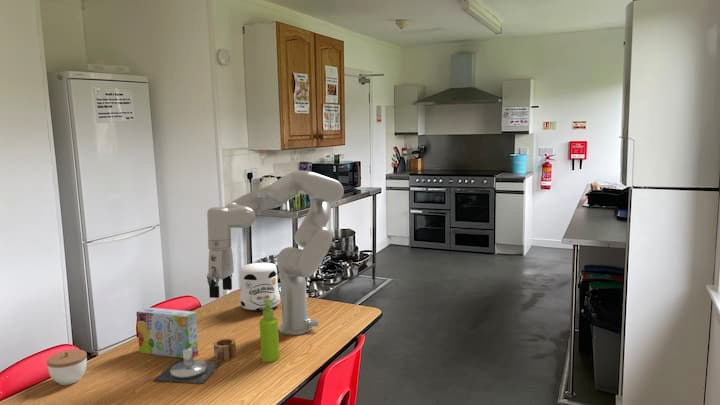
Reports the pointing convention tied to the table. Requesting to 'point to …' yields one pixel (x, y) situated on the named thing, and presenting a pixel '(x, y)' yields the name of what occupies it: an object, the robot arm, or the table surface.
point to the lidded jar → (67, 366)
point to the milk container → (258, 286)
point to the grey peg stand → (188, 370)
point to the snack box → (167, 331)
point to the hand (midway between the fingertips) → (221, 293)
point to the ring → (224, 349)
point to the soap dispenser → (269, 334)
